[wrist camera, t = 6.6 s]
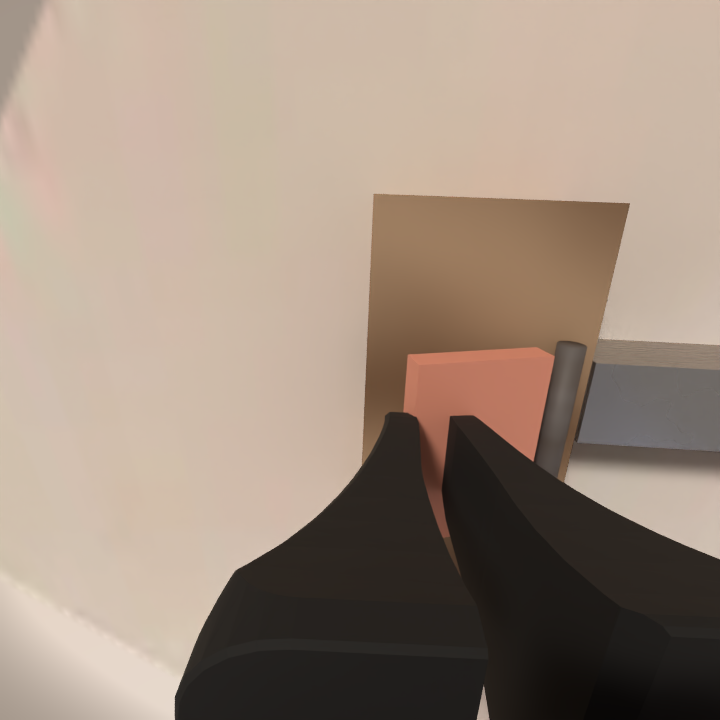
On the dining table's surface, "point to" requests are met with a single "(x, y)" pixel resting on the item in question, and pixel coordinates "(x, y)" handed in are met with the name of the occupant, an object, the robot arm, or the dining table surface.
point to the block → (489, 296)
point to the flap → (475, 402)
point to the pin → (652, 396)
